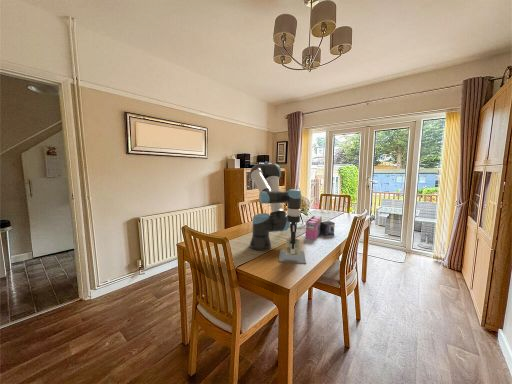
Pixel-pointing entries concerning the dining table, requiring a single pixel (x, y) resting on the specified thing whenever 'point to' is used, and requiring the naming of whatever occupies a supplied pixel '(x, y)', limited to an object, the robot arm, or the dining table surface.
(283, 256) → the mat
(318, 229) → the gum box
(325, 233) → the small box
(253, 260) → the dining table surface
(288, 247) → the wooden block
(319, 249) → the dining table surface
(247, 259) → the dining table surface
